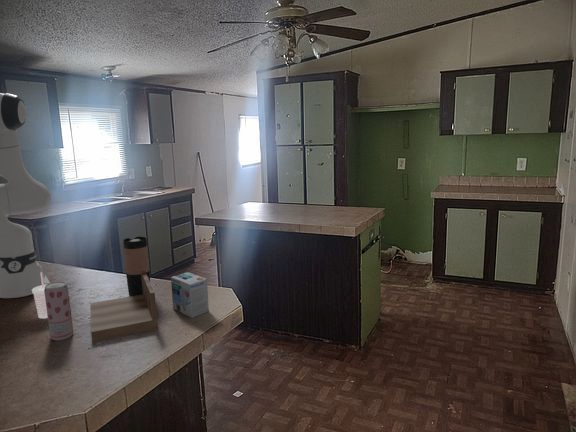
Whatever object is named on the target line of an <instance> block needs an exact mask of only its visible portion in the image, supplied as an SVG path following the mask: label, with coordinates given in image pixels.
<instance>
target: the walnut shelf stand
mask: <svg viewBox="0 0 576 432" xmlns="http://www.w3.org/2000/svg"><path fill="white" fill-rule="evenodd" d="M141 277H142V289H143V294H142V295H136V296H130V297H129V296H125V297H120V298H119V297H118V298H112V299H108V300H107V299H106V300H102V301H96V302H90V303H89V305H90V306H89V308H90V334H91V342H92V343H96V342H101V341H107V340H112V339H117V338H121V337H125V336H131V335H135V334H140V333H146V332H149V331H157V330H158V329H159V328H158V317H157V306H156V305H157V302H156V294H155V290H154V287H153V286H152V283H151V280H150V281H149V279H148V277H147V274H146V272H145V271H141Z"/></svg>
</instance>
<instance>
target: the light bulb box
mask: <svg viewBox="0 0 576 432" xmlns="http://www.w3.org/2000/svg"><path fill="white" fill-rule="evenodd" d="M170 281H171V282H170V283H171V297H172V299H171V300H172V309H174V310H175V311H177V312H179V313H181V314H183V315H185V316H187V317H189V318H195V317H197V316H200V315H203V314H206V313H208V312H209V292H208V290H209V289H208V279H207V278H205V277H204V276H203V277H202V276H200V275H197V274H194V273H192V272H189V271H188V272H184V273H179V274H177V275H174V276H171V277H170Z"/></svg>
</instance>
